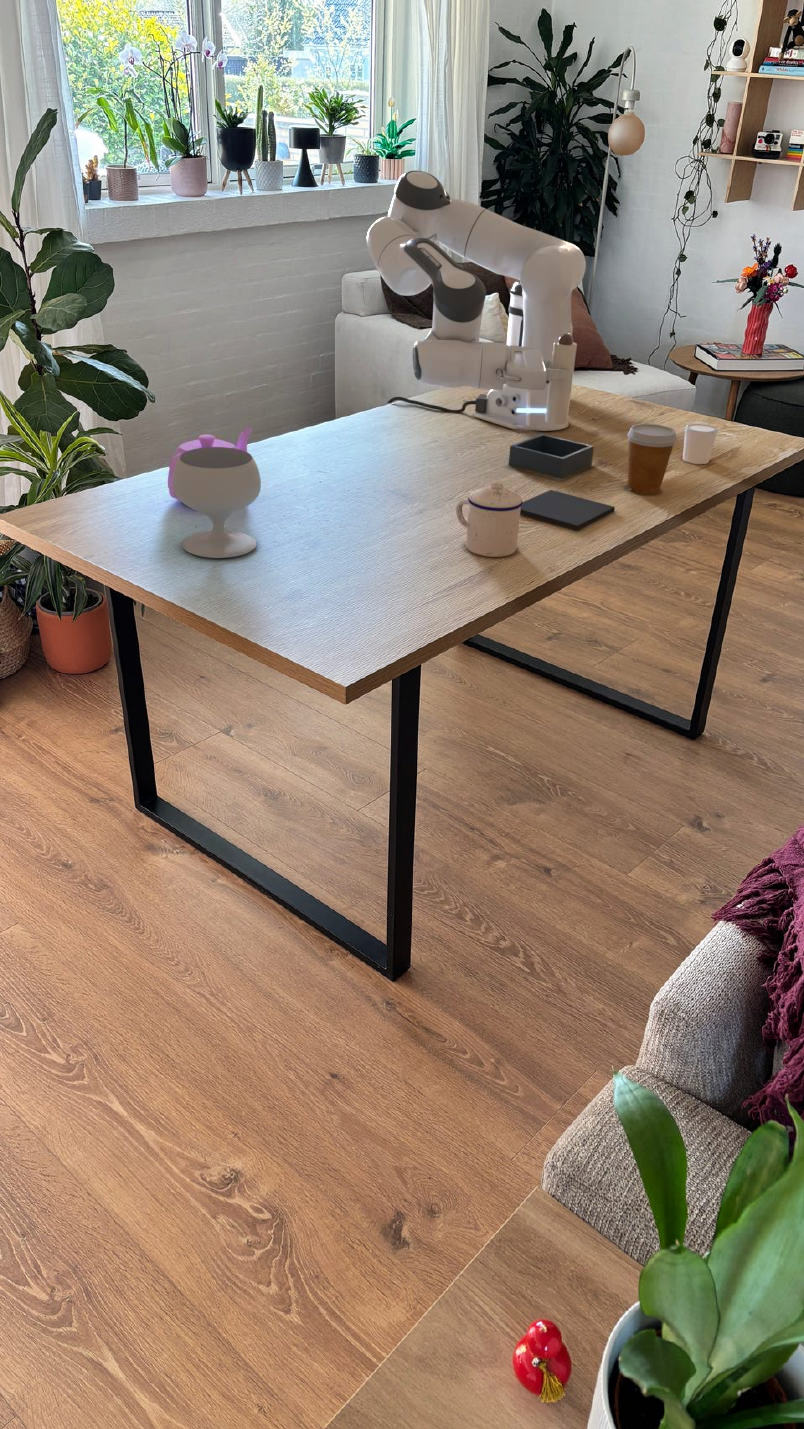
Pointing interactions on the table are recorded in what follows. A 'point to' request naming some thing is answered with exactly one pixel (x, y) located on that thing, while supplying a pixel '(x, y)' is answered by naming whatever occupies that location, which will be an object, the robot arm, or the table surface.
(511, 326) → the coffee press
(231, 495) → the chalice
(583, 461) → the basket
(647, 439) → the disposable coffee cup
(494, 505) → the teacup with lid
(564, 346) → the pepper mill
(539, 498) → the mat
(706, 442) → the white cup
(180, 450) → the teapot
